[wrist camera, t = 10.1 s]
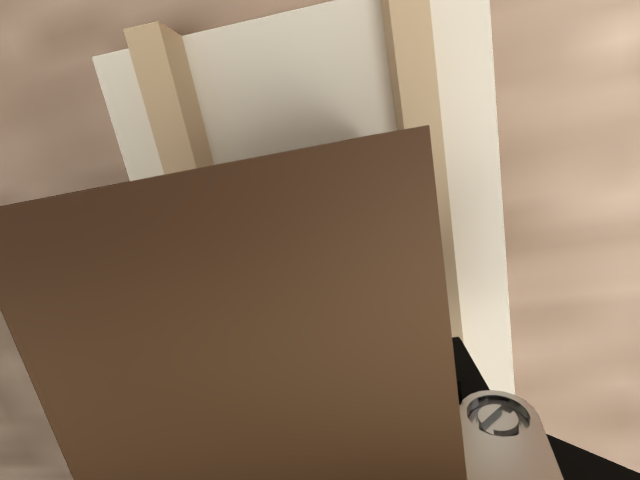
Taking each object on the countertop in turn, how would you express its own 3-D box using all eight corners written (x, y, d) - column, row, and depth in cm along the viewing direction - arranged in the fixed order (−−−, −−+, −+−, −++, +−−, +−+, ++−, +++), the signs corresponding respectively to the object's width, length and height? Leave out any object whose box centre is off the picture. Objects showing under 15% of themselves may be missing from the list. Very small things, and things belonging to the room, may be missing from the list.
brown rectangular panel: (420, 476, 13) (519, 932, 6) (308, 486, 14) (260, 920, 6) (370, 135, 10) (435, 124, 3) (230, 161, 11) (-45, 214, 3)
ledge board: (507, 487, 17) (541, 560, 14) (249, 509, 18) (230, 579, 15) (469, -14, 12) (510, -64, 9) (119, 66, 13) (55, 45, 10)
